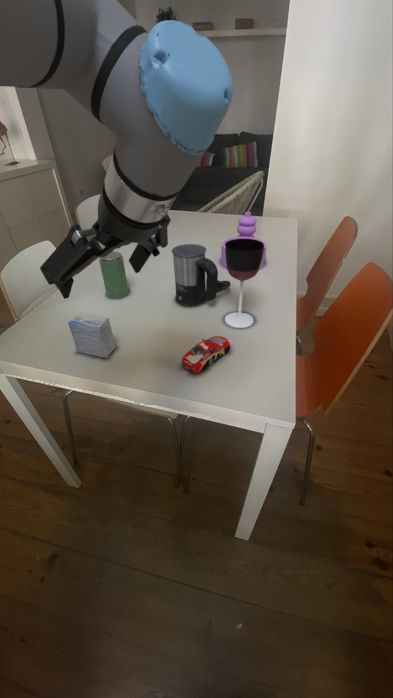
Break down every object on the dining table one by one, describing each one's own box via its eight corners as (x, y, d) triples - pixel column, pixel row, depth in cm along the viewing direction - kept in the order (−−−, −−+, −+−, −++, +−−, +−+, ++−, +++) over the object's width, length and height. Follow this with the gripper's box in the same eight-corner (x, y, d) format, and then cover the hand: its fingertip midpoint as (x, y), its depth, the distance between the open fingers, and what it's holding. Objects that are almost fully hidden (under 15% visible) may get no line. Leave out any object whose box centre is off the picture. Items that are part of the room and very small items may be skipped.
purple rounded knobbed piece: (263, 272, 106) (268, 232, 98) (218, 269, 109) (219, 230, 101) (265, 245, 126) (269, 210, 118) (226, 243, 128) (228, 209, 120)
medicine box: (116, 348, 75) (109, 316, 70) (106, 359, 72) (98, 327, 66) (88, 342, 77) (79, 311, 72) (76, 352, 74) (66, 321, 68)
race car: (216, 340, 77) (217, 326, 74) (234, 349, 74) (235, 335, 71) (177, 366, 69) (176, 352, 67) (195, 377, 66) (195, 363, 64)
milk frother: (169, 303, 91) (165, 252, 82) (193, 280, 102) (191, 234, 93) (214, 313, 86) (215, 261, 77) (234, 288, 97) (237, 240, 88)
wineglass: (257, 328, 80) (266, 251, 68) (223, 328, 81) (226, 251, 68) (253, 311, 87) (261, 238, 74) (221, 312, 87) (224, 238, 75)
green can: (104, 298, 94) (95, 259, 87) (109, 288, 99) (102, 250, 92) (126, 298, 94) (119, 259, 86) (130, 288, 99) (124, 250, 92)
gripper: (45, 255, 30) (38, 325, 48) (228, 204, 43) (168, 274, 61) (5, 185, 30) (14, 281, 48) (200, 156, 43) (149, 240, 61)
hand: (100, 278), depth 54 cm, fingers open, 13 cm apart
